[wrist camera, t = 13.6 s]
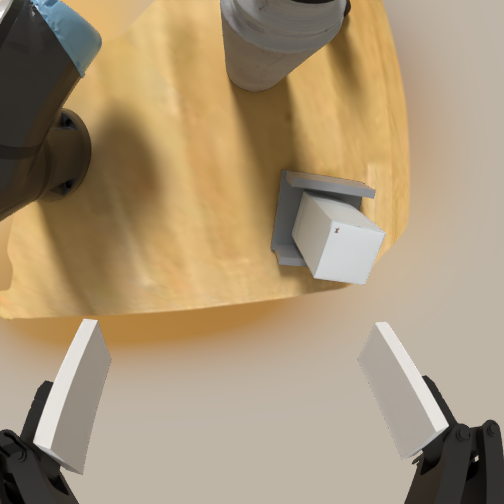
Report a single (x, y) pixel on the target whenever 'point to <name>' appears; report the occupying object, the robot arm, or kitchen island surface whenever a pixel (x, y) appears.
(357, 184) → the holder
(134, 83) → the kitchen island surface
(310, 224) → the supplement box
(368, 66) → the kitchen island surface
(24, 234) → the kitchen island surface
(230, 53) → the thermos bottle
